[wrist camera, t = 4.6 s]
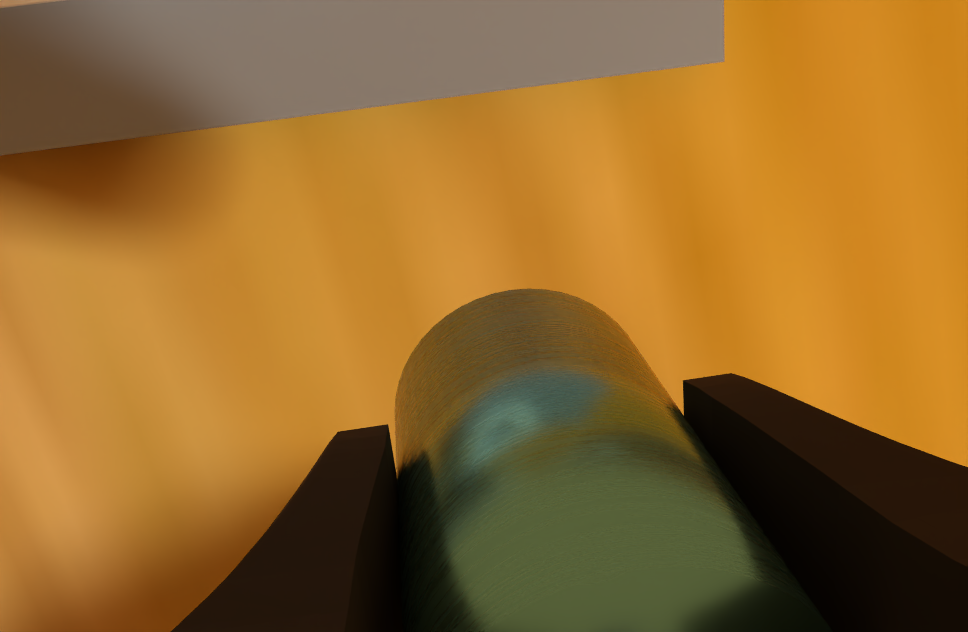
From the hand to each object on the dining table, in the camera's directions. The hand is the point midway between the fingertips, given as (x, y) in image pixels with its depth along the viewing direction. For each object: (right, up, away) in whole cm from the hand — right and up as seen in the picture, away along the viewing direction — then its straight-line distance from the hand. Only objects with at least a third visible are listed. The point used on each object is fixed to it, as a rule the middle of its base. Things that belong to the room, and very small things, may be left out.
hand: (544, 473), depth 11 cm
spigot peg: (0, +1, +2) cm, 2 cm away
